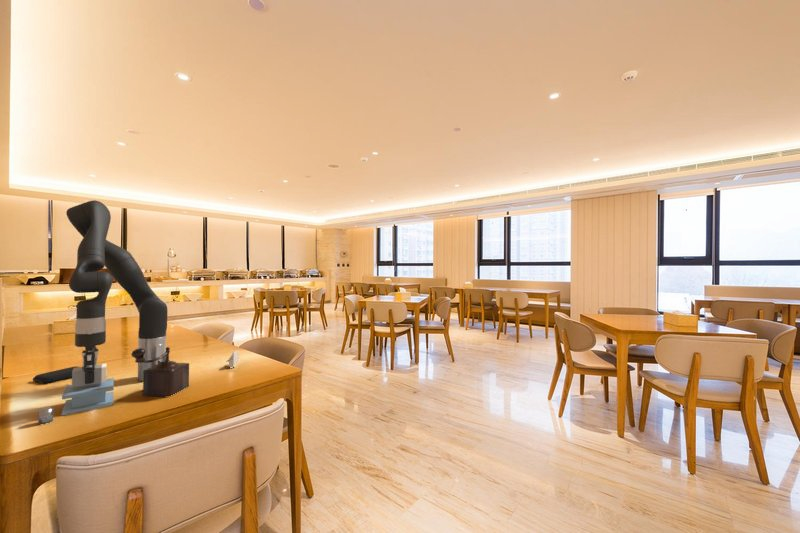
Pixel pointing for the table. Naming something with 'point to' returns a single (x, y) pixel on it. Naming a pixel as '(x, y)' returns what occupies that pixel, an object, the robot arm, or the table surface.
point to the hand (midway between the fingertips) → (89, 380)
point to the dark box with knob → (162, 375)
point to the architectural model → (233, 358)
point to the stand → (88, 397)
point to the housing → (79, 375)
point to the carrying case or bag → (54, 376)
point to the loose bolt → (45, 415)
